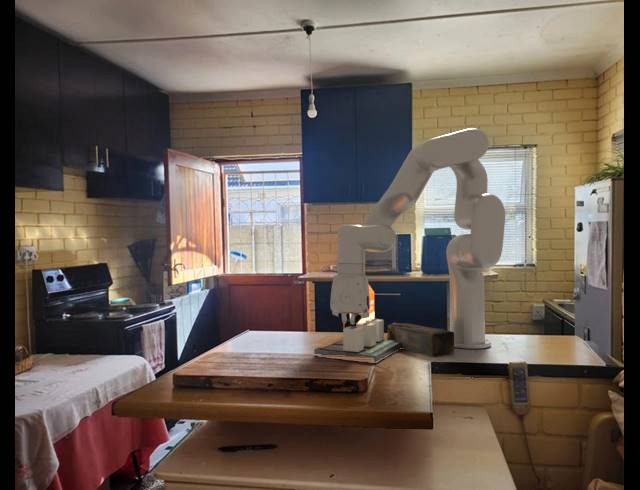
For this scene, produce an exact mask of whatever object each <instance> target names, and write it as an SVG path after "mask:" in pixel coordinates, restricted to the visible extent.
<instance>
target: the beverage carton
mask: <svg viewBox="0 0 640 490" xmlns="http://www.w3.org/2000/svg"><path fill="white" fill-rule="evenodd" d="M386 333H387V336H386V339H387V340H393V341H401V342H402V348H404V349H403V350H405V349H407V350H406V351H409V350H410V351H409V352H412V351H413V352H412V353H417V354H420V355H423V356H428V357H431V358H436V357H437V358H438V357H444V356H445V357H446V356H449V355H450V356H451V355H454V354H455V347H454V332H451V331H450V330H446V329H445V328H436V327H435V328H434V327H428V326H423V325H417V324H413V323H408V322H404V323H403V322H402V323H398V322H393V323H391V324H388V325H387V332H386Z"/></svg>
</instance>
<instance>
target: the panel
mask: <svg viewBox="0 0 640 490" xmlns="http://www.w3.org/2000/svg"><path fill="white" fill-rule="evenodd" d="M400 348H402V342H401V341H393V340H386V339H385V338H384V339H383V340H381V341H379V342H377V341H376V345H374V346H372V347H368V346H364V349H363V350H361V351H359V352H353V351H344V350H343V336H342V337H339V338H337V339H335V340H331V341H329V342H327V343H324V344H322V345H319V346H317V347H316V348H314V349H313V350H314V354H321V355H345V356H365V357H372V358H374V360H375V362H376V361H378V360H380V359H381V358H384V357H385V356H387V355H389V354H391V353H393V352H395V351H397V350H399V349H400ZM399 351H400V350H399ZM397 352H398V351H397ZM314 354H313V355H314Z"/></svg>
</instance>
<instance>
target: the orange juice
mask: <svg viewBox="0 0 640 490" xmlns="http://www.w3.org/2000/svg"><path fill="white" fill-rule="evenodd" d="M369 292H370V309H369V315H370V316H369V317H367V318H362V319H361V320H360V321H359V322H358V323H357V324H359V323H365V321H366V320H368V319H375V318H376V316H375V314H376V313H375V291H374V290H373V288H372V287H371V285H370V284H369ZM360 314H362V313H360ZM350 319H351V313H350Z"/></svg>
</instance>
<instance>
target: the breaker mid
mask: <svg viewBox="0 0 640 490" xmlns="http://www.w3.org/2000/svg"><path fill="white" fill-rule="evenodd" d="M357 327H363V328H364V346H368V347H372V346H374V345H376V324H374V323H369V322H366V323H359V324H357Z"/></svg>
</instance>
